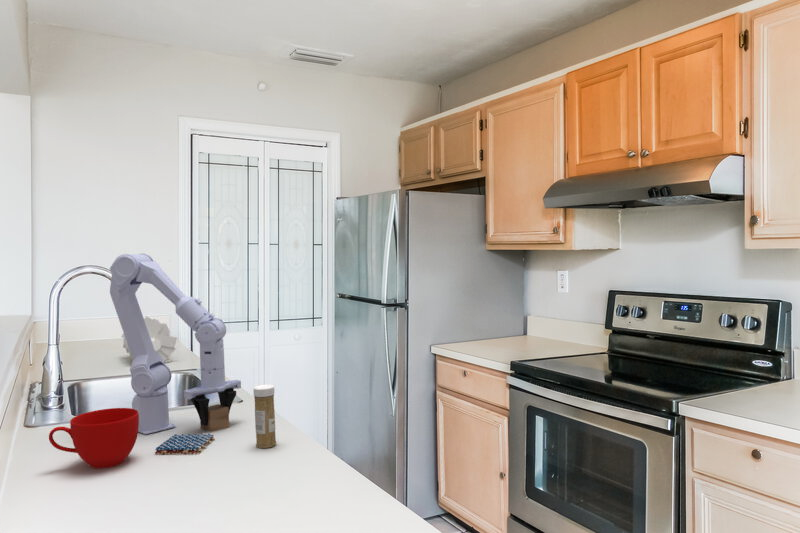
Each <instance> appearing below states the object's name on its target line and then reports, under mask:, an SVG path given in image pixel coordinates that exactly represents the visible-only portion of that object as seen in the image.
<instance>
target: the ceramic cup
mask: <svg viewBox="0 0 800 533" xmlns="http://www.w3.org/2000/svg"><path fill="white" fill-rule="evenodd" d="M69 423H70V424H69V425H70V428H69V427H67V426H56V427H54V428H53V429H52V430H50V432H49V433H48V441H49V443H50V444H51V445H52V447H53V448H55V449H57V450H59V451H63V452H68V453H74V454H77V455H78V456H79V457H80V459H82V461H83V462H85V463H86V464H87V465H88V466H89V467H90V468H92V469H108V468H112V467H116V466H119V465H120V464H122V463H124V462H125V460H126V458H128V456H129V455H130V454H131V452H132V450H133V449H134V446H135V444H136V442H137V439H138V433H139V432H138V427H139V413H138V411H137V410H135V409H132V407H114V408H105V409H104V408H103V409H97V410H93V411H92V410H91V411H87V412H84V413H81V414H78V415H75V416H74V417H73V418H70V422H69ZM59 431H64V432H66V433H67V434H68V435H69V437H70V439H71V440H72V444H73V447H66V446H63V445H60V444H59V443H57V442H56V440H54V433H55V432H59Z"/></svg>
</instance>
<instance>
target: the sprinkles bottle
mask: <svg viewBox="0 0 800 533" xmlns="http://www.w3.org/2000/svg"><path fill="white" fill-rule="evenodd" d="M274 396H275V385H272V384H260V385H256V386H254V387H253V397H254V422H255V423H254V424H255V426H254V427H255V438H256V443H255V446H256V448H259V449H269V448H273V447H275V446H276V445H277V441H276V439H277V438H276V417H275V416H276V415H275V397H274Z"/></svg>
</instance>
